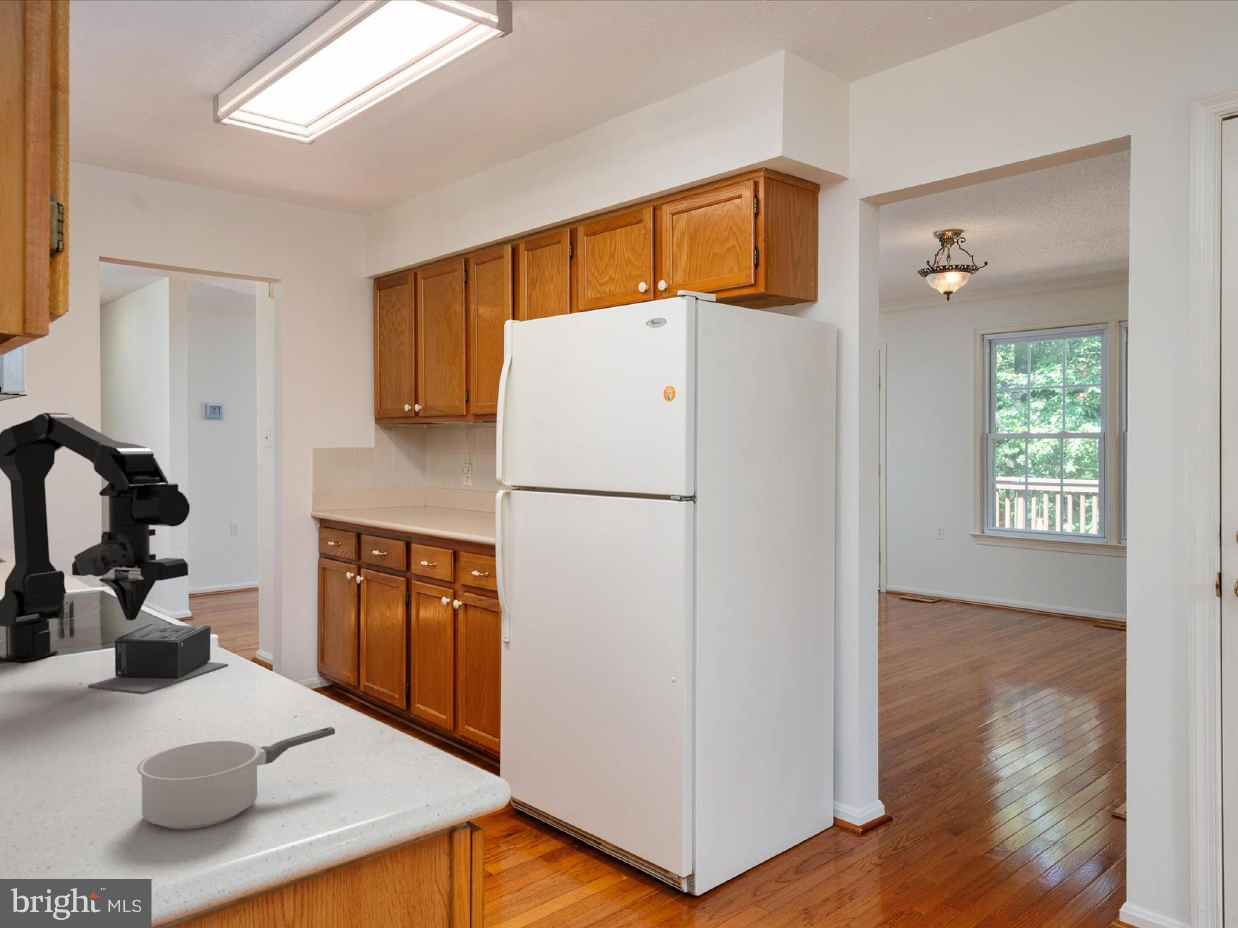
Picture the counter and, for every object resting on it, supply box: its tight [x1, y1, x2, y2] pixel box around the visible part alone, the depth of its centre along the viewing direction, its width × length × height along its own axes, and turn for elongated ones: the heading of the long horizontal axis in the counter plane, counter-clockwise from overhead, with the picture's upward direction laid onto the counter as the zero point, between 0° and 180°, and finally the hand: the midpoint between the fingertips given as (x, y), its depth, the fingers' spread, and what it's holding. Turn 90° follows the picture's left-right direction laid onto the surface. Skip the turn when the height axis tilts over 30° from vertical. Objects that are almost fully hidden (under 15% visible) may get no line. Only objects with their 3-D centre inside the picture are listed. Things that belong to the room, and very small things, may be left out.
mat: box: [87, 661, 229, 695], centre depth 141 cm, size 11×17×1 cm, turn 162°
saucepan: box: [136, 726, 336, 830], centre depth 93 cm, size 12×20×6 cm, turn 133°
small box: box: [114, 623, 211, 678], centre depth 143 cm, size 11×6×10 cm
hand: (131, 619), depth 142 cm, fingers closed
